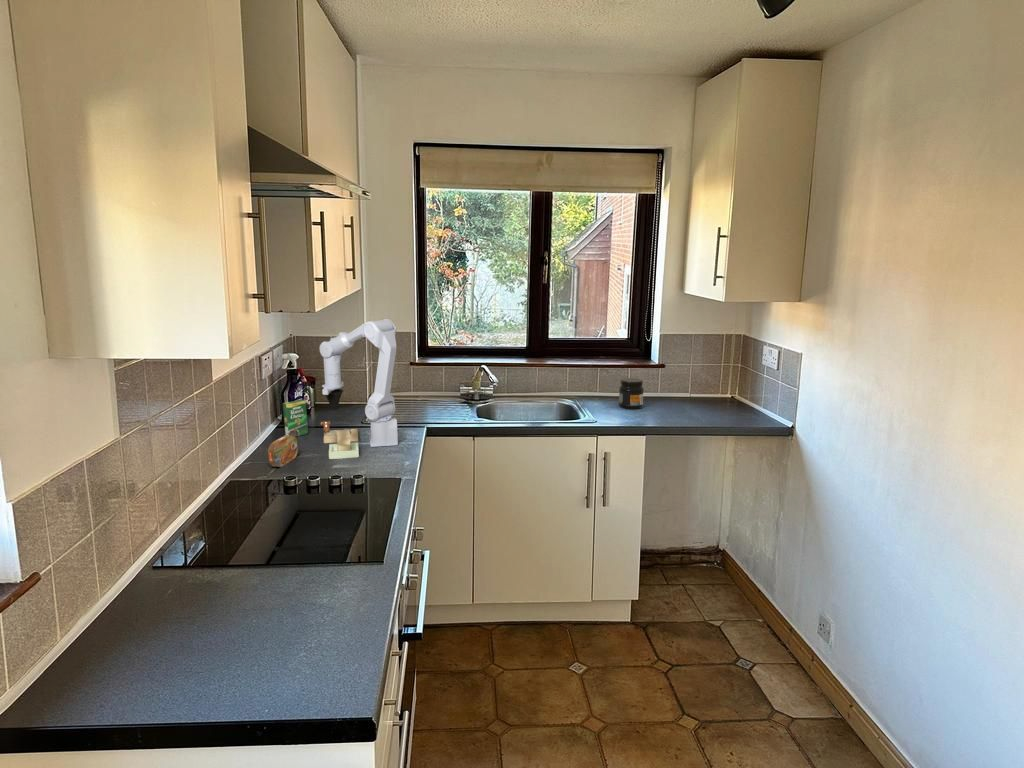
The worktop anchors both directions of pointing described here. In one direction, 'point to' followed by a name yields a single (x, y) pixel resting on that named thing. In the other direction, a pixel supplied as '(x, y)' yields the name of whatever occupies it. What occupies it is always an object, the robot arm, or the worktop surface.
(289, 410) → the green cardboard box
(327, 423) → the crank
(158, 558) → the worktop surface
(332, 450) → the tray
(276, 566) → the worktop surface
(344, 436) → the block
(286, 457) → the tin
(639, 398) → the supplement container
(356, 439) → the crank base
